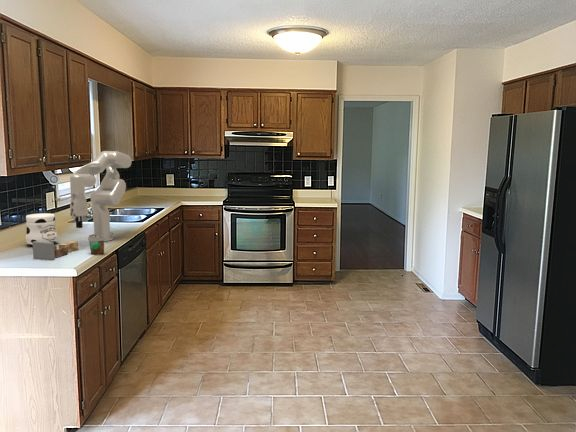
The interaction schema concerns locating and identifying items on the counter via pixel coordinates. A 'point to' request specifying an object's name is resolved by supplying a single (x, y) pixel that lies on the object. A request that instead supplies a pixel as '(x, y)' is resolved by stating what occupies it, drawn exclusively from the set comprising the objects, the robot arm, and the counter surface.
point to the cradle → (60, 251)
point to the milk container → (41, 228)
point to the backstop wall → (43, 250)
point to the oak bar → (70, 246)
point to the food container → (96, 244)
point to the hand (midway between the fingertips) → (79, 227)
